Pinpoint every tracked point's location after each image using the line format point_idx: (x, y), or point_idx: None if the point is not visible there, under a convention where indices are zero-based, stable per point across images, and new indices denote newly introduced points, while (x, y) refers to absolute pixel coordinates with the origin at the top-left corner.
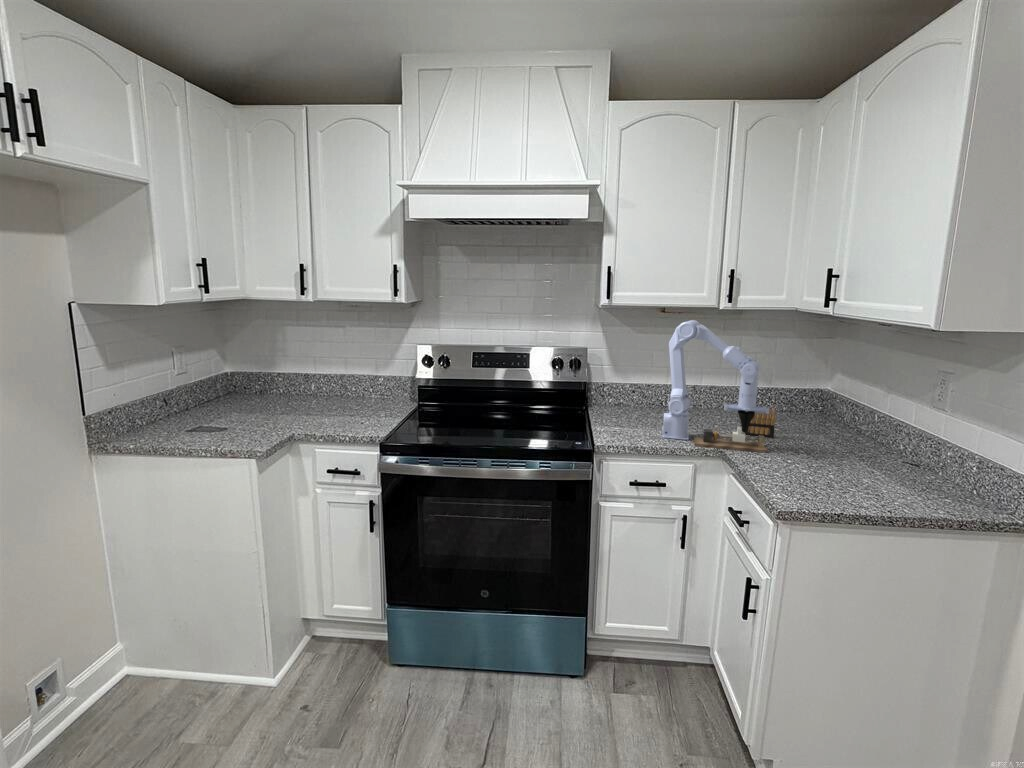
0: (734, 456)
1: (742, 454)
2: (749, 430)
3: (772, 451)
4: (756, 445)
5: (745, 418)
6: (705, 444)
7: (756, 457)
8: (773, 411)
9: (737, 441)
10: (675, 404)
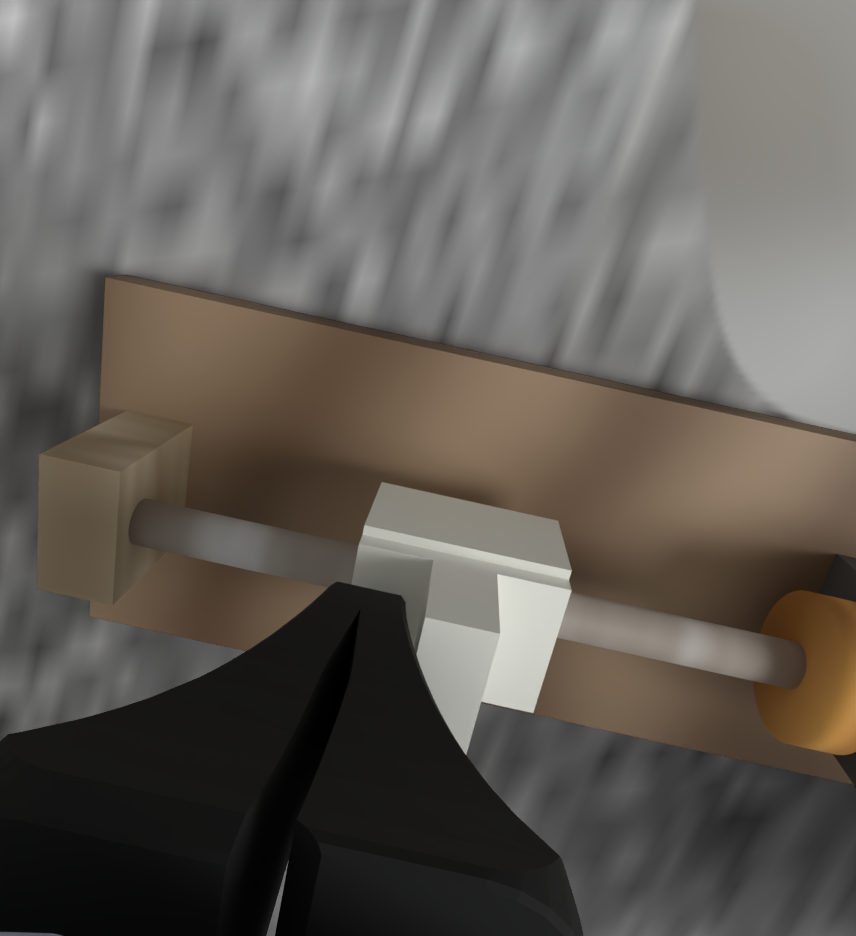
0: (691, 15)
1: (514, 154)
2: None
3: (38, 363)
4: (209, 497)
5: (330, 756)
6: None
7: (339, 14)
8: None
9: (488, 508)
10: None
